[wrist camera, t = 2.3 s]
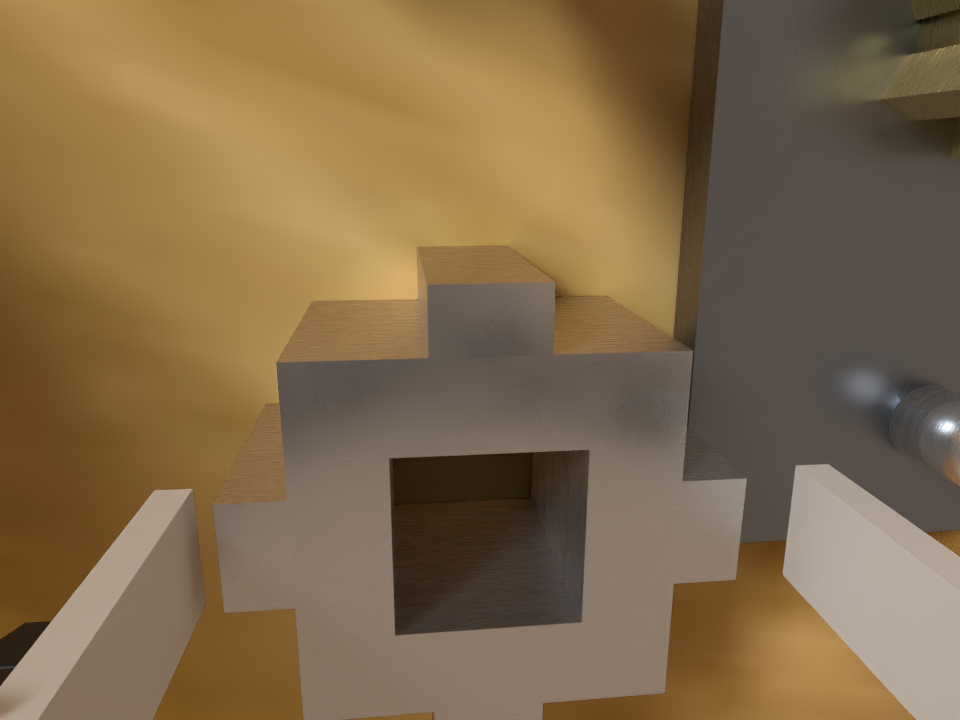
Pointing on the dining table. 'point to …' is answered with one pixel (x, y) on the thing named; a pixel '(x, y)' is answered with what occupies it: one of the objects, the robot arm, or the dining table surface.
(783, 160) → the carrier
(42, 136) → the dining table surface
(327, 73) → the dining table surface
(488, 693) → the planet gear
